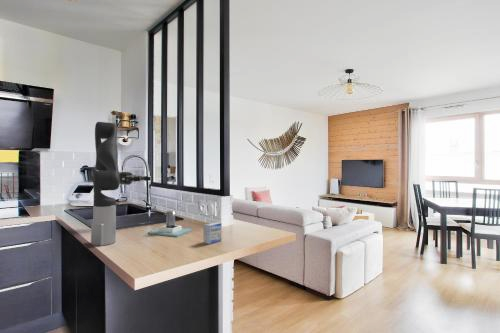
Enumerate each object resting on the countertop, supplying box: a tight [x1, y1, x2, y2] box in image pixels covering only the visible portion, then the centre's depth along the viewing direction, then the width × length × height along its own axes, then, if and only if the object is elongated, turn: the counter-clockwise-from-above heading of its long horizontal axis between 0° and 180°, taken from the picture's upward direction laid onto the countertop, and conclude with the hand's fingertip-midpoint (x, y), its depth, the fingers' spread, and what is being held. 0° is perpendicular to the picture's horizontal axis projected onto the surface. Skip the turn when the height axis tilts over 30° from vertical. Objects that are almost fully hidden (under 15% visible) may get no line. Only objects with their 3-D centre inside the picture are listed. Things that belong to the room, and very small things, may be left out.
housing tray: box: [147, 224, 193, 238], centre depth 149 cm, size 14×18×3 cm
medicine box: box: [202, 221, 222, 245], centre depth 132 cm, size 8×4×9 cm, turn 143°
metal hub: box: [165, 210, 176, 229], centre depth 150 cm, size 4×4×10 cm
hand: (145, 178), depth 160 cm, fingers open, 8 cm apart
